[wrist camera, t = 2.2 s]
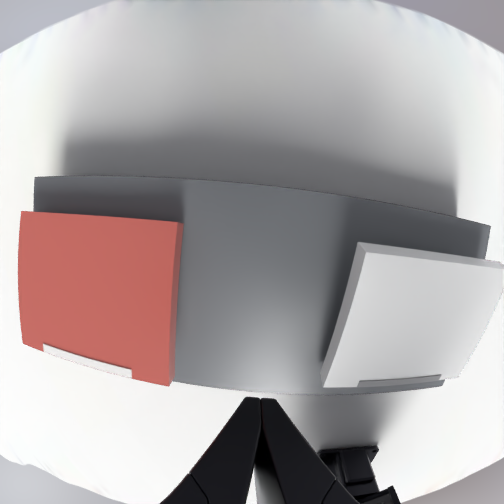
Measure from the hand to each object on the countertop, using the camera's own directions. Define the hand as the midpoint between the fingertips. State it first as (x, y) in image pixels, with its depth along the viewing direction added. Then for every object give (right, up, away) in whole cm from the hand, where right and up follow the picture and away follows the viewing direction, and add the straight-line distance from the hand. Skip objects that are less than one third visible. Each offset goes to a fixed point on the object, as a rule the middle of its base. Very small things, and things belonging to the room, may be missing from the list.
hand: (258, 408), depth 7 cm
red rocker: (-9, +2, +6) cm, 11 cm away
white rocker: (+9, 0, +6) cm, 11 cm away
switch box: (0, +3, +12) cm, 12 cm away
